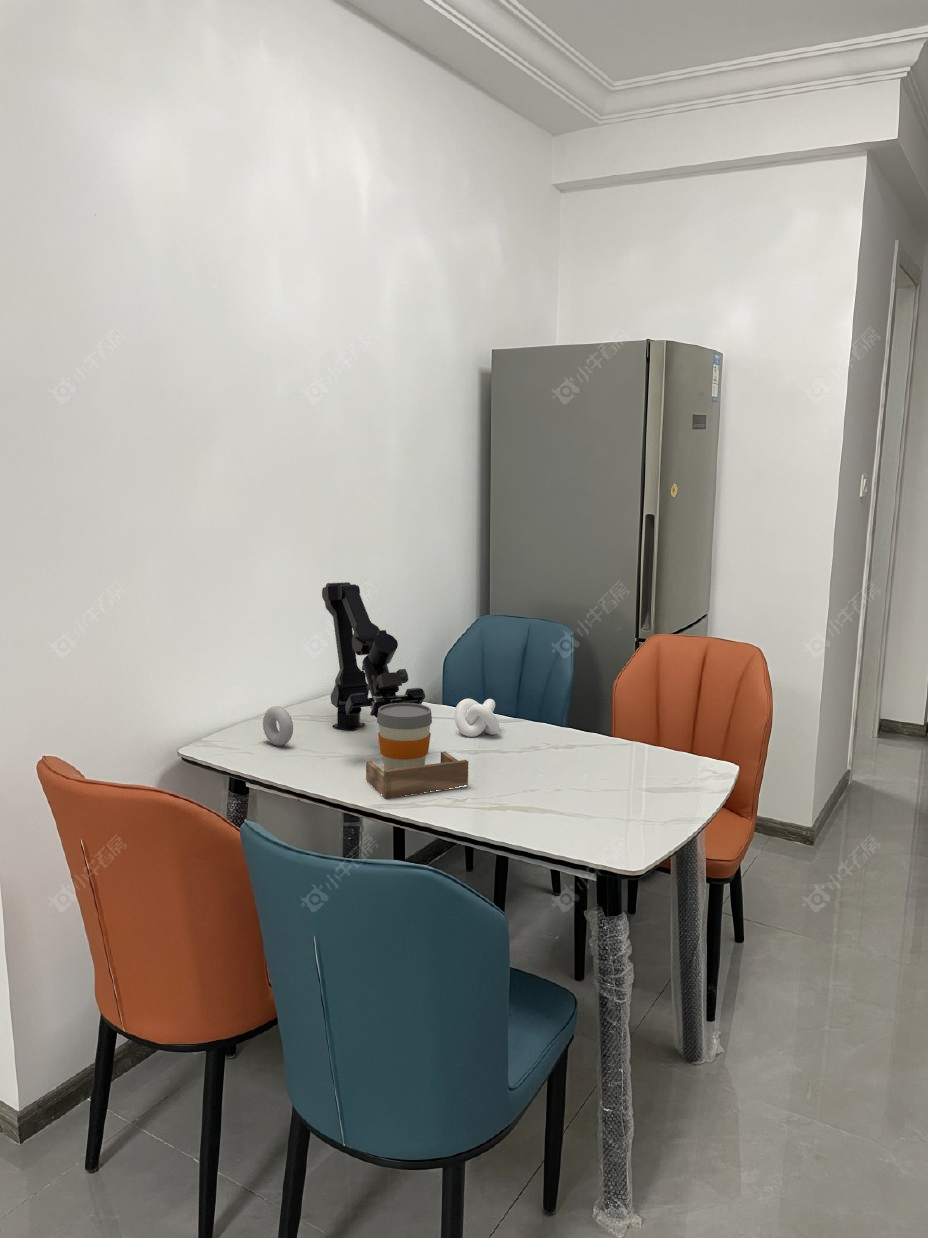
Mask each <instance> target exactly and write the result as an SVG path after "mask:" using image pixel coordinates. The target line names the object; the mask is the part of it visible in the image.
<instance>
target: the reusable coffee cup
mask: <svg viewBox="0 0 928 1238" xmlns="http://www.w3.org/2000/svg"><path fill="white" fill-rule="evenodd" d="M376 723H377V724H378V730H379V731H378V733H377V736H378V746H379V754H381V756H382V757H381V758H382V764H383V771H384V770H390V769H398V768H406V767H413V766H421V765H426V764H425V762H426V756H427V755H428V753H429V749H430V741H431V735H432V734H431V732H430V731H431V730H430V729H431V724H432V723H433V717H432V709H431V707H429V706H427V705H425V704H415V703H393V704H387V705H384V706H381V707H380V708H379V709H378V716H377V718H376Z"/></svg>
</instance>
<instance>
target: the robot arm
mask: <svg viewBox="0 0 928 1238" xmlns="http://www.w3.org/2000/svg"><path fill="white" fill-rule="evenodd" d="M321 597H322V600H323V601H324V606H325V609H326V610H327V611H328V613H329V614H330V615H331V616H332V620H333V626H334V635H335V643H336V651H337V659H338V665H339V671H338V673H337V676H336V677H335V680H334V687H333V689H332V692H331V694H330V703H331V705H332V706H334V708H337V713H336V714H337V715H336V716H337V717H336V721H337V723H335V724H333V725H332V728H334V729H339V730H345V731H356V730H358V729H360V728H361V727H364V726H365V725H366V723H365V722H361V712H362V708H367V707H370V712H369V714H370V716H371V717H375V718H376V719H377V716H378V709H379V708H380V707H381V706H384V705H387V704H393V703H415V704H421V705H423V702H424V701H425V699H426V693H425V690H424V689H423V688H421V687H415V688H414V687H413V688H407V689H406V691H405V693H404V694H397V693H398V692H399V691H400V686H401V687H402V686H403V684H407V682H409V674H408V672H407V669H406V668H402V669H401V668H399V669H398V670H396V672H395V671H392V672H390V669H389V666H388V665H389V664H390V663H391V662H392V659H393V657H394V655H395V653H396V651H397V649H398V645H399V643H398V640H397V639H396V638H395V637H394V636H392V634H390V633H387V630H386V629H383V630H381V629H380V628H379V626H377V625H376V624H375V623H373V622H372V621H371V620H370V619H371V618H370V616H369V614H368V612H367V609H366V606H365V604H364V601H363V598H362V596H361V589H360V586H359V585H357V584H356V583H355V584H351V583H350V582H348V581H347V582H328V583H326V585H325V586H324V587H322V589H321ZM357 656H364V658H363V659H362V662H361V663H362V667H361V668H359V666H358V662H357ZM369 692H370V693H369ZM369 694H370V695H371V697H369Z"/></svg>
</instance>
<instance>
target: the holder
mask: <svg viewBox="0 0 928 1238" xmlns="http://www.w3.org/2000/svg"><path fill="white" fill-rule="evenodd" d="M365 764H366V765H365V770H366V771H365V773H366V774H365V781H366V780H367V781H366V782H367V783H368V784H369V785H370V786H371V785H372V786H373V787H374V788H375V791H377V792H378V794H380V795H381V794H382V795H381V796H382V797H383V798H384V799H385V800H389V799H396V798H402V797H401V796H403V797H406V796H405V795H410V796H412V795H411V794H417V795H421V794H420V793H424V792H430V791H436V790H445V789H449V788H455V787H459V786H464V785H468V786H469V760H467V759H461V760H458V759H457V758H455V757H454V756H452V755H451V754H450V753H449V752H447V751H440V762H438V763H437V762H436V763H431V764H430V763H429V764H425V765H421V766H413V767H406V768H398V769H390V770H384V769H382V768H380V767H379V766H378V765H377V764H376V763H375V762H373V760H367V761H365ZM372 786H371V787H372ZM373 787H372V788H373ZM374 788H373V789H374ZM445 791H446V790H445ZM424 794H425V793H424Z"/></svg>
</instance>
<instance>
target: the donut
mask: <svg viewBox="0 0 928 1238" xmlns="http://www.w3.org/2000/svg"><path fill="white" fill-rule="evenodd" d="M277 724H278V725H277ZM278 727H279V729H278ZM262 730H263V732H264V733H263V734H264V735H265V737H266V739H267V740H268V742H269V743H271V744H273V745H274V746H276V747H277V746H279V747H280V746H281V747H282V746H284V745H287V744H288V743H289V742H290V741H291V739H292V736H293V734H294V723H293V719H292V716H291V715H290V713H289V712H288V711H287V709H286V708H284V707H282V706H281V705H280V706H279V705H273V706H271V707H269V708H268V709H266V711H265V713H264V715H263V718H262Z"/></svg>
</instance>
